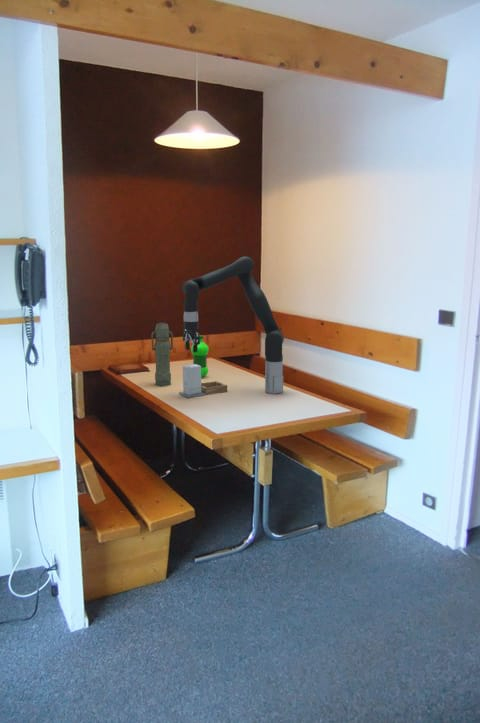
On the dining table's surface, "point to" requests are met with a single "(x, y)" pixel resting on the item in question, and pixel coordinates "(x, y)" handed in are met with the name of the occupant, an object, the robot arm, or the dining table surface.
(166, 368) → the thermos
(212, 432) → the dining table surface
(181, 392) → the slate pad
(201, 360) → the plastic bottle
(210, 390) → the wooden crate
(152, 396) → the dining table surface
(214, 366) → the dining table surface
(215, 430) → the dining table surface
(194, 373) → the skincare box
